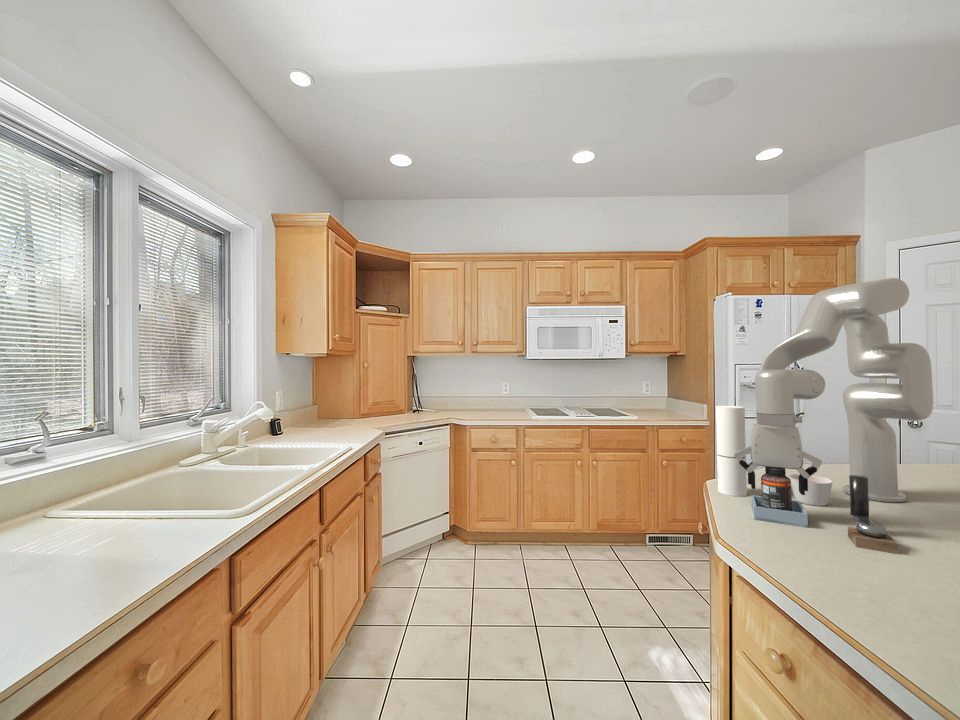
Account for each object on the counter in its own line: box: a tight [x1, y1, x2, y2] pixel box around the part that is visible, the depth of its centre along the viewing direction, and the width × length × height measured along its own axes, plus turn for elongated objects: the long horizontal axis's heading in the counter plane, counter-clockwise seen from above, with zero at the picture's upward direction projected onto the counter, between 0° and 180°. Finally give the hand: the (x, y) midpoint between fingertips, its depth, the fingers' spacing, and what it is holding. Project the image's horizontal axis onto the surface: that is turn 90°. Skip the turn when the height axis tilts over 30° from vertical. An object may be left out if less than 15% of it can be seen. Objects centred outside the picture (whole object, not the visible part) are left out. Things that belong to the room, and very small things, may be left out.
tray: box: [750, 494, 809, 528], centre depth 97 cm, size 10×10×3 cm
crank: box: [848, 474, 888, 537], centre depth 84 cm, size 11×4×10 cm, turn 149°
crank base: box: [847, 526, 899, 555], centre depth 81 cm, size 6×6×2 cm
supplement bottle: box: [760, 467, 793, 511], centre depth 97 cm, size 6×6×11 cm
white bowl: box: [788, 473, 834, 507], centre depth 106 cm, size 9×9×6 cm
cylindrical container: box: [715, 405, 748, 497], centre depth 115 cm, size 7×7×25 cm
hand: (776, 490), depth 97 cm, fingers open, 9 cm apart
